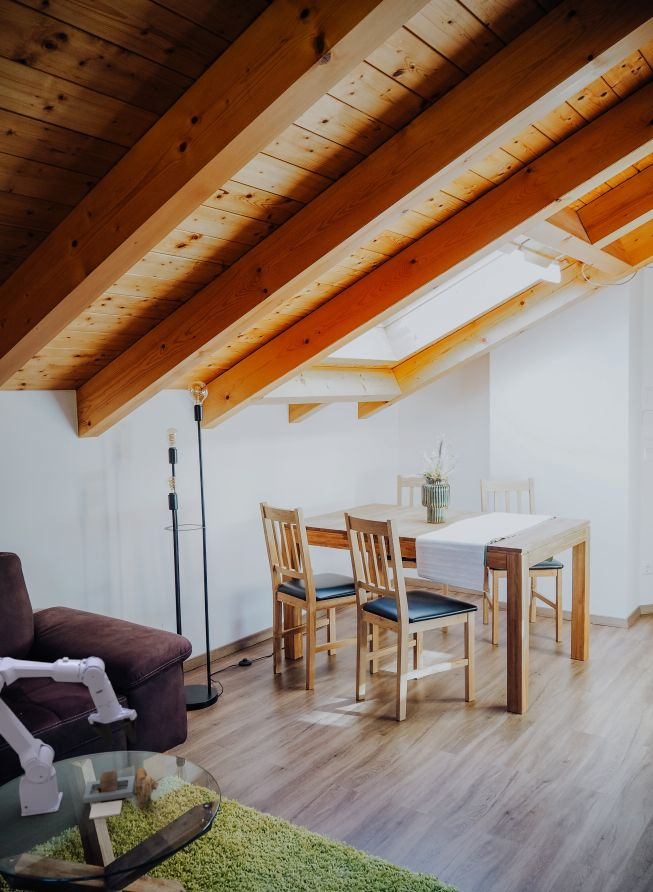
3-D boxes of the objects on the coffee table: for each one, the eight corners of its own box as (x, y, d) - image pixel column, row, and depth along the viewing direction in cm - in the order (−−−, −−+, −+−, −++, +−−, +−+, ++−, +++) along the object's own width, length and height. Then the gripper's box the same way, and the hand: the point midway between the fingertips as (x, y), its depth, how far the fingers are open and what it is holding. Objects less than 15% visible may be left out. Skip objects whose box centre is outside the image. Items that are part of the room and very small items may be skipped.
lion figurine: (162, 807, 206) (159, 777, 204) (143, 814, 203) (139, 784, 201) (145, 780, 218) (142, 751, 217) (126, 786, 216) (123, 757, 214)
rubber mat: (89, 819, 202) (89, 817, 202) (92, 806, 208) (92, 804, 208) (120, 814, 203) (120, 813, 203) (122, 801, 209) (122, 800, 209)
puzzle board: (83, 803, 209) (83, 798, 209) (87, 786, 216) (87, 781, 216) (132, 796, 211) (132, 791, 211) (135, 780, 218) (134, 775, 218)
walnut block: (101, 797, 211) (99, 781, 211) (103, 788, 215) (101, 772, 214) (116, 795, 212) (114, 779, 211) (118, 786, 216) (116, 770, 215)
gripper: (134, 689, 210) (151, 730, 213) (91, 693, 215) (108, 734, 218) (121, 704, 203) (139, 747, 206) (77, 709, 208) (95, 751, 211)
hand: (122, 742), depth 212 cm, fingers open, 7 cm apart
